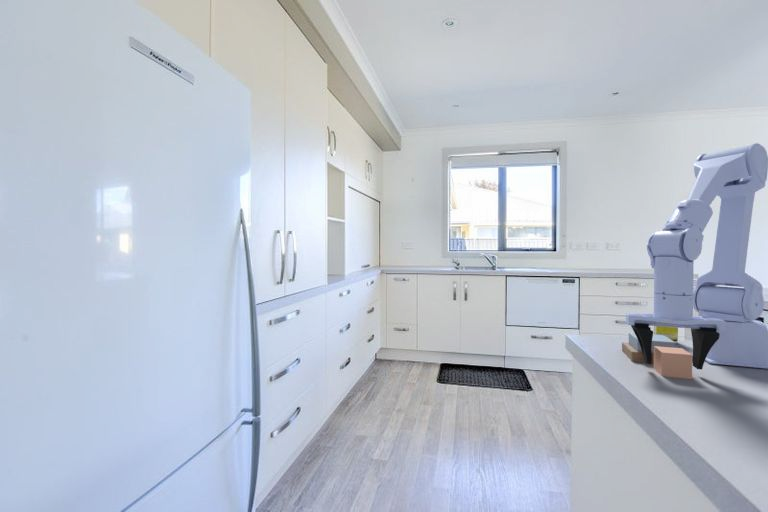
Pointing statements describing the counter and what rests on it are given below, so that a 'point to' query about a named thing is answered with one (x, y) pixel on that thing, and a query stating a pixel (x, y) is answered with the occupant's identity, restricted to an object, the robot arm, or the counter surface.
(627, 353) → the walnut base block
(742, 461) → the counter surface
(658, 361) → the terracotta block
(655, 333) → the supplement bottle
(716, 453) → the counter surface
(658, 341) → the slate middle block
